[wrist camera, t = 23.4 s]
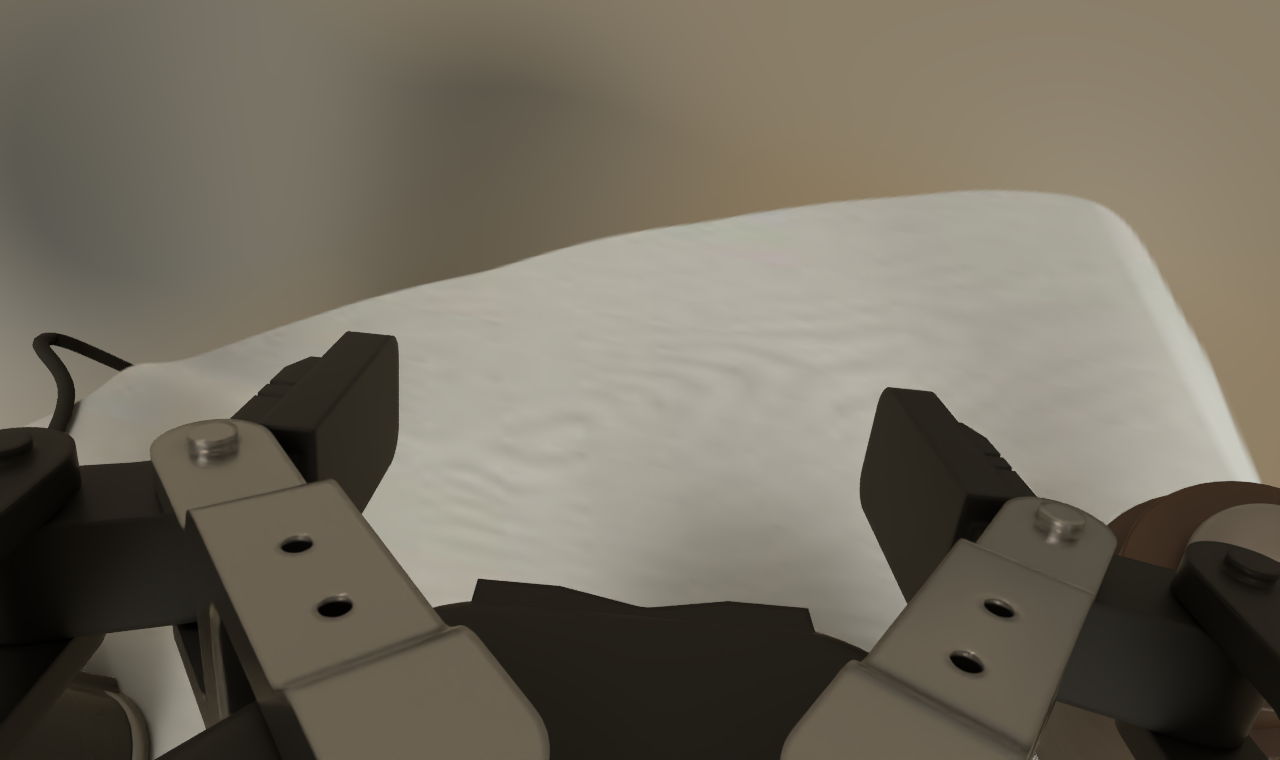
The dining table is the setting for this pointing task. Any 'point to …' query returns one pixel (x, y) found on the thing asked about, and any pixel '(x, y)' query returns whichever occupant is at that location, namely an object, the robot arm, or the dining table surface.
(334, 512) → the robot arm
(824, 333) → the dining table surface
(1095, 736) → the pepper mill
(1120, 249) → the dining table surface
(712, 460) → the dining table surface
